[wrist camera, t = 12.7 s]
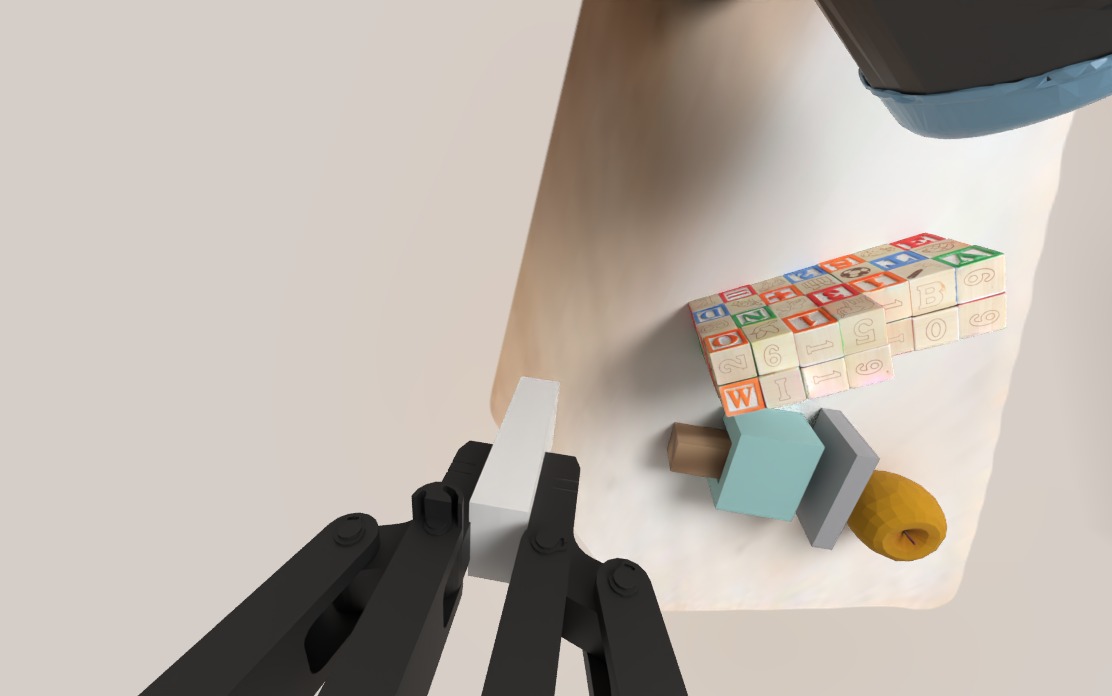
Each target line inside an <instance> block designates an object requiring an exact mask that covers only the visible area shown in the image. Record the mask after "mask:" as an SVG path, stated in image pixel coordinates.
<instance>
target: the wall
mask: <svg viewBox="0 0 1112 696" xmlns="http://www.w3.org/2000/svg"><path fill="white" fill-rule="evenodd" d="M813 431H814V432H815V434H816V435H817V436H818V438H819V439H820V441H821V442H822V444H823V445H824V447H825V448H824V450H823V453H822V455H821V457H820V459H819V461H818V464H817V466H816V468H815V470H814V472H813V475H812V477H811V479H810V481H809V483H808V486H807V488H806V490H805V492H804V494H803V497H802V499H801V501H800V503H799V505H798V507H797V510H796V514H797V516H798V519H799V521H800V523H801V525H802V527H803V529H804V531H805V533H806V535H807V537H808V539H809V542H810V544H811V546H812V547H818V548H824V549H830V550H832V548H833V546H834V545H835V543H836V541H837V539H838V537H839V535H840V533H841V531H842V529H843V528H844V526H845V524H846V522H847V520H848V518H849V516H850V514H851V513H852V511H853V509H854V507H855V505H856V503H857V501H858V499H859V498H860V496H861V494H862V492H863V490H864V488H865V486H866V484H867V482H868V481H869V479H870V477H871V475H872V473H873V471H874V469H875V467H876V466H877V464H878V462H879V460H880V458H879V457H878V456H877V454H876V453H875V452H874V451H873V450H872V448H871V447H870V446H869V445H868V444H867V442H866V441H865V440H864V439H863V438H862V436H861V435H860V434H859V433H858V432H857V430H856V429H855V428H854V427H853V425H852V424H851V423H850V422H849V421H848V419H847V418H846V417H845V416H844V415H843V413H842V412H841V411H837V410H831V409H824V408H821V410H820V413H819V415H818V417H817V420H816V422H815V424H814V427H813Z"/></svg>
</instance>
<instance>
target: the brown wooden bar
mask: <svg viewBox="0 0 1112 696" xmlns="http://www.w3.org/2000/svg"><path fill="white" fill-rule="evenodd" d="M731 445H732V442H731V439H730V437H729V434H728V431H726V430H719V429H713V428H707V427H701V426H694V425H688V424H682V423H676V422H675V423H674V426H673V430H672V434H671V437H670V441H669V445H668V449H667V452H668V458H669V465H670V471H674V472H680V473H685V474H691V475H697V476H703V477H709V478H715V479H720V478H721V475H722V472H723V469H724V466H725V463H726V460H727V457H728V454H729V451H730V448H731Z"/></svg>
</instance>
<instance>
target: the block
mask: <svg viewBox="0 0 1112 696" xmlns="http://www.w3.org/2000/svg"><path fill="white" fill-rule="evenodd" d="M723 421H724V423H725V426H726V429H727V431H728V434H729V437H730V439H731V442H732V445H731V448H730V451H729V454H728V457H727V460H726V463H725V466H724V469H723V472H722V475H721V478H720V479H715V478H709V477H707V478H708V482H709V486H710V490H711V494H712V497H713V501H714V505H715V509H719V510H725V511H731V512H737V513H743V514H749V515H755V516H761V517H767V518H772V519H778V520H784V521H790V522H791V521H792V518H793V516H794V514H795V512H796V510H797V507H798V505H799V503H800V501H801V499H802V497H803V494H804V492H805V490H806V488H807V486H808V483H809V481H810V479H811V477H812V475H813V472H814V470H815V468H816V466H817V464H818V461H819V459H820V457H821V455H822V453H823V450H824V448H825V447H824V445H823V444H822V442H821V441H820V439H819V438H818V436H817V435H816V434H815V432H814V431H813V429H812V428H811V426H810V425H809V423H808V422H807V420H806V419H805V417H804V416H803V414H802V413H796V412H790V411H783V410H776V409H767V408H765V409H762V410H757V411H753V412H749V413H744V414H740V415H736V416H731V417H727V416H726V414H725V413H724V416H723Z"/></svg>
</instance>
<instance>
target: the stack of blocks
mask: <svg viewBox="0 0 1112 696" xmlns="http://www.w3.org/2000/svg"><path fill="white" fill-rule="evenodd" d="M688 304H689V308H690V311H691V315H692V319H693V322H694V326H695V329H696V331H697V335H698V338H699V342H700V346H701V349H702V353H703V356H704V359H705V361H706V364H707V366H708V369H709V372H710V375H711V378H712V380H713V384H714V387H715V389H716V392H717V395H718V397H719V398H720V401H721V403H722V406H723V409H724V411H725V414H726V416H727V417H731V416H736V415H740V414H744V413H749V412H753V411H757V410H762V409H765V408H767V409H772V408H776V407H781V406H785V405H789V404H793V403H797V402H801V401H805V400H806V399H807V398H808V399H814V398H819V397H822V396H827V395H831V394H835V393H839V392H843V391H846V390H848V389H850V388H857V387H861V386H865V385H869V384H874V383H878V382H882V381H885V380H890V379H893V378H895V377H894V371H893V364H892V356H894V355H898V354H902V353H907V352H911V351H919V350H923V349H927V348H931V347H935V346H939V345H943V344H947V343H951V342H956V341H959V340H960V339H963V338H968V337H972V336H976V335H980V334H985V333H989V332H993V331H997V330H1001V329H1005V328H1006V293H1005V254H1004V253H1001V252H998V251H994V250H991V249H988V248H984V247H981V246H977V245H973V246H971V245H968V244H965V243H961V242H958V241H955V240H952V239H945V238H942V237H939V236H936V235H932V234H928V233H922V234H919V235H916V236H913V237H910V238H907V239H903V240H900V241H897V242H894V243H890V244H884V245H880V246H877V247H874V248H870V249H867V250H864V251H860V252H857V253H854V254H852V255H847V256H843V257H840V258H836V259H833V260H829V261H826V262H823V263H819V264H817V265H816V266H812V267H808V268H805V269H802V270H798V271H795V272H792V273H788V274H785V275H783V276H779V277H775V278H772V279H769V280H765V281H762V282H759V283H755V284H752V285H746V286H742V287H739V288H736V289H732V290H729V291H726V292H722V293H719V294H715V295H711V296H708V297H704V298H701V299H697V300H694V301H691V302H689V303H688Z"/></svg>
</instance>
